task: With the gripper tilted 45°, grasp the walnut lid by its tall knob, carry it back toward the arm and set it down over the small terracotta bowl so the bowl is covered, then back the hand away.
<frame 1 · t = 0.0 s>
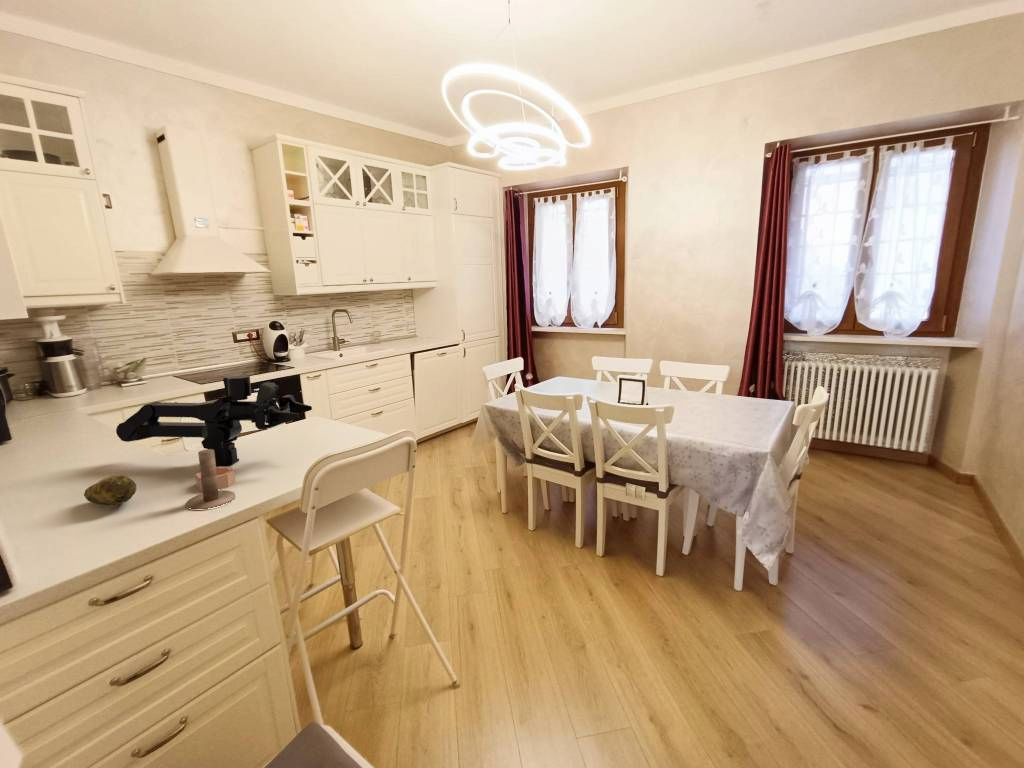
hand: (305, 411, 132), 17 cm above the table, tool horizontal, fingers open, 9 cm apart
potato: (113, 506, 106), on the table
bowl: (216, 484, 119), on the table
lid: (211, 501, 110), on the table
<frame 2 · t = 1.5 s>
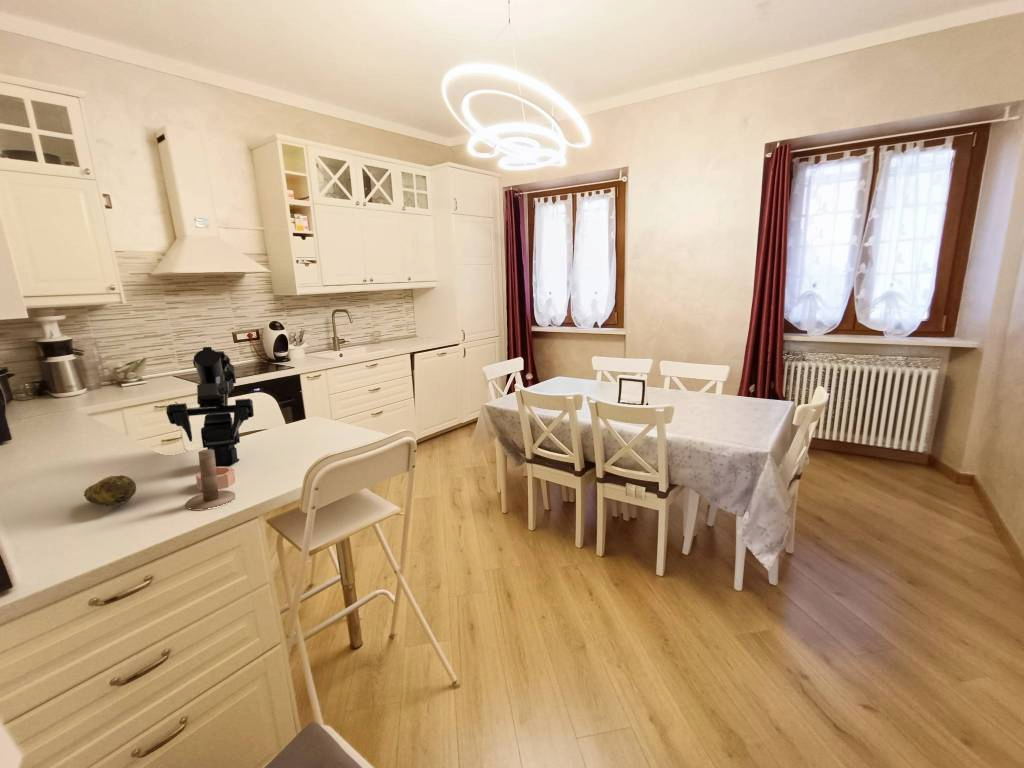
hand: (212, 438, 114), 14 cm above the table, tool tilted 45°, fingers open, 9 cm apart
nothing on the table moved.
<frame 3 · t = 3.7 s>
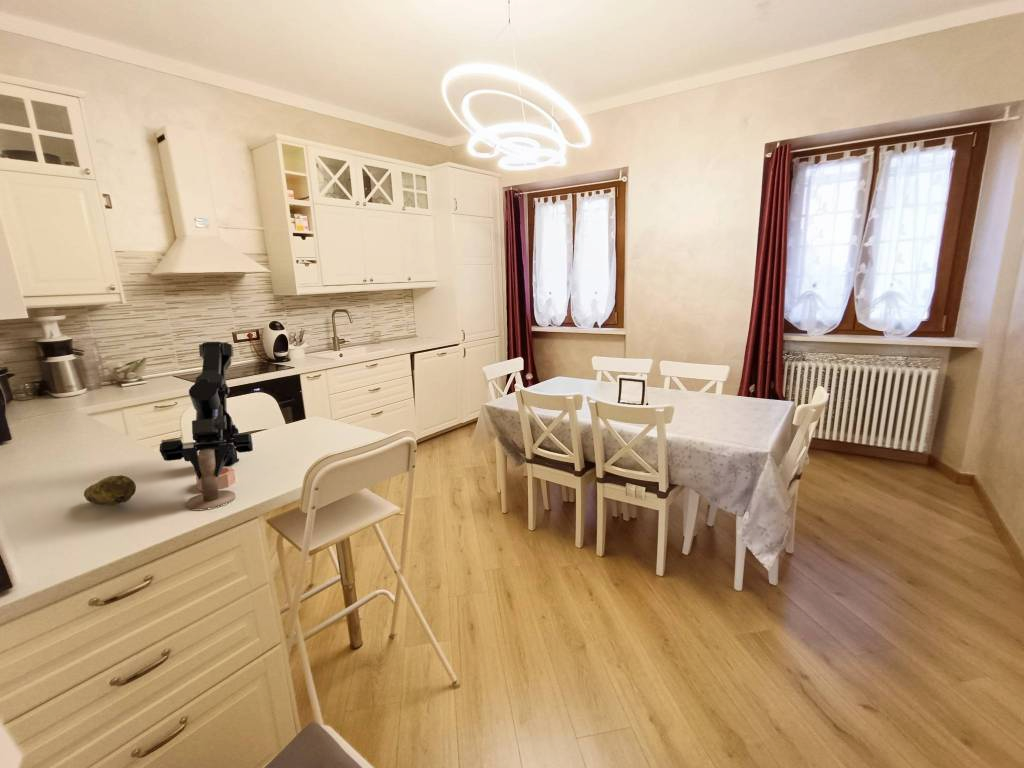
hand: (208, 477, 107), 7 cm above the table, tool tilted 45°, fingers closed on lid, 3 cm apart
lid: (211, 500, 110), on the table, touching gripper
everything else where it was.
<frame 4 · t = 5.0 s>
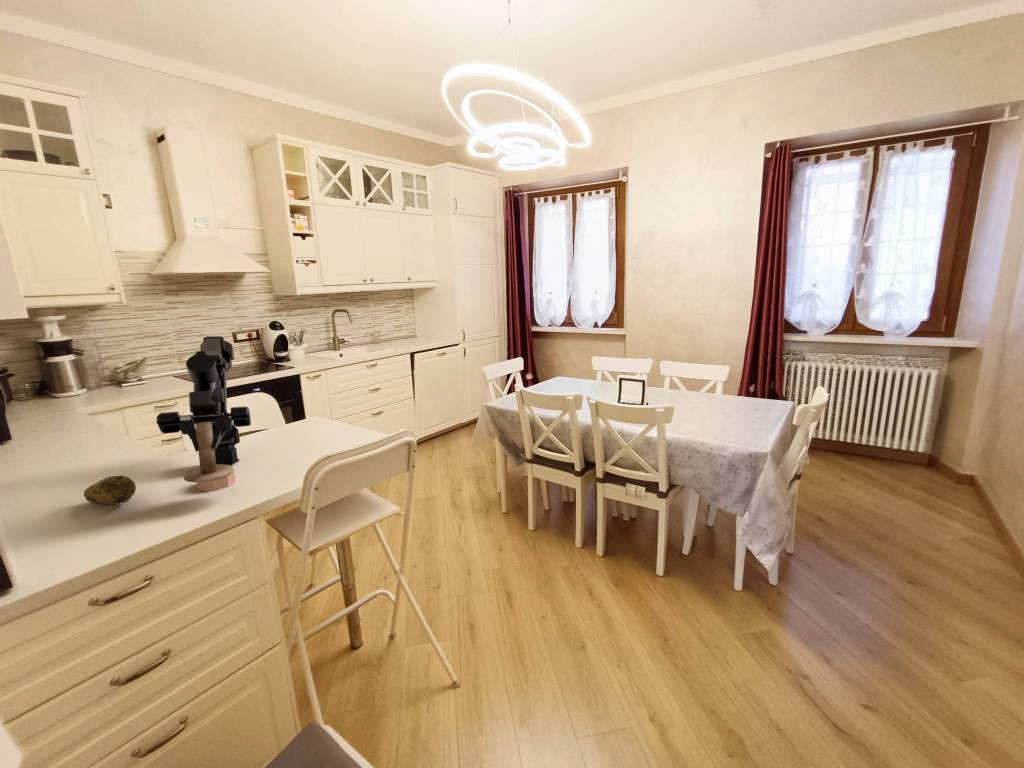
hand: (205, 449, 106), 13 cm above the table, tool tilted 45°, fingers closed on lid, 3 cm apart
lid: (209, 474, 109), point 7 cm above the table, touching gripper
everything else where it was.
when the fingers open (11 cm above the table, at t = 6.6 s): lid drops 1 cm, resting on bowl.
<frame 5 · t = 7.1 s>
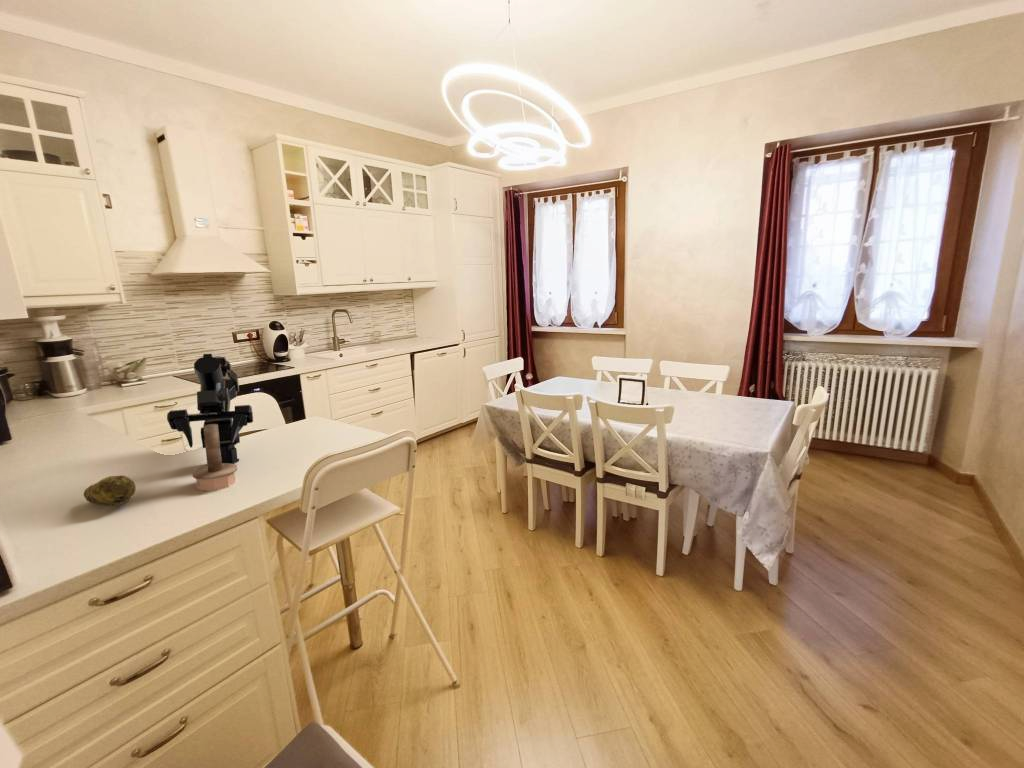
hand: (211, 444, 116), 12 cm above the table, tool tilted 45°, fingers open, 9 cm apart
lid: (215, 471, 119), point 3 cm above the table, touching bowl
everything else where it was.
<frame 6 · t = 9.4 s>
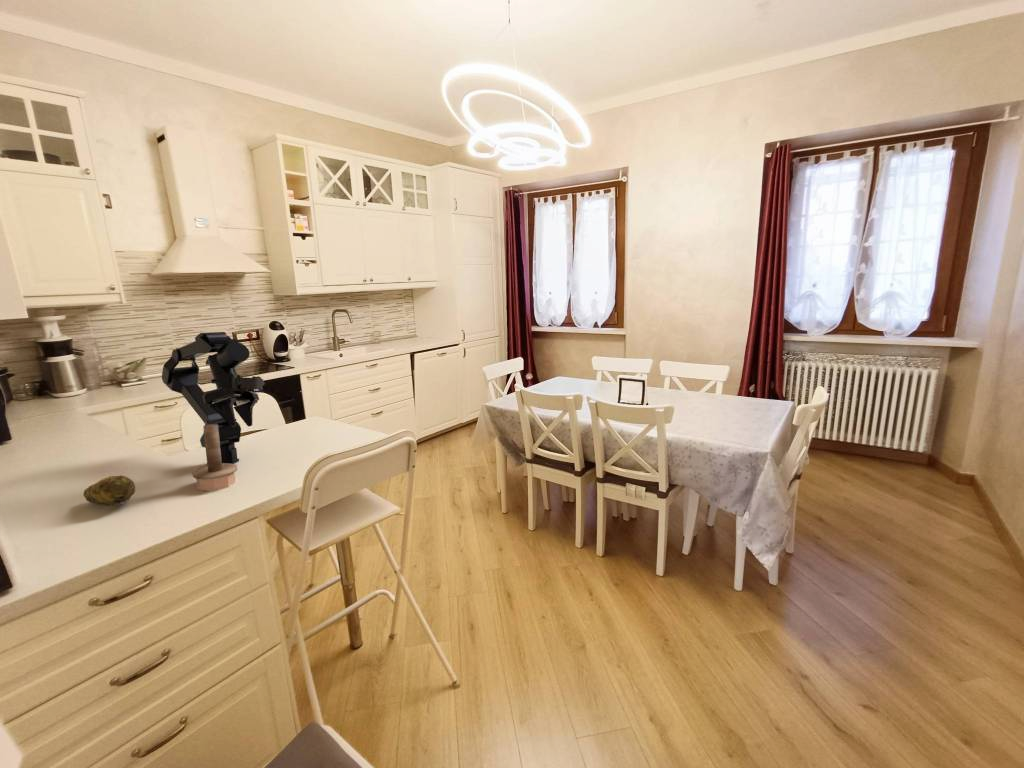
hand: (242, 426, 125), 14 cm above the table, tool tilted 25°, fingers open, 9 cm apart
nothing on the table moved.
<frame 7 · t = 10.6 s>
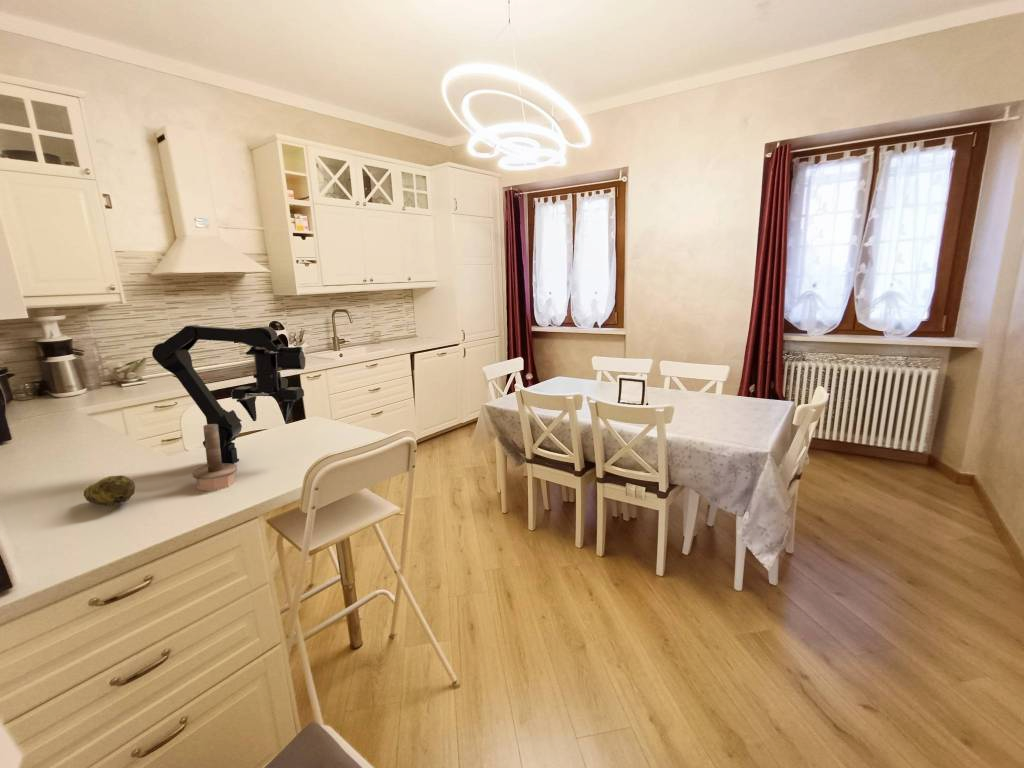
hand: (270, 421, 134), 13 cm above the table, tool pointing down, fingers open, 9 cm apart
nothing on the table moved.
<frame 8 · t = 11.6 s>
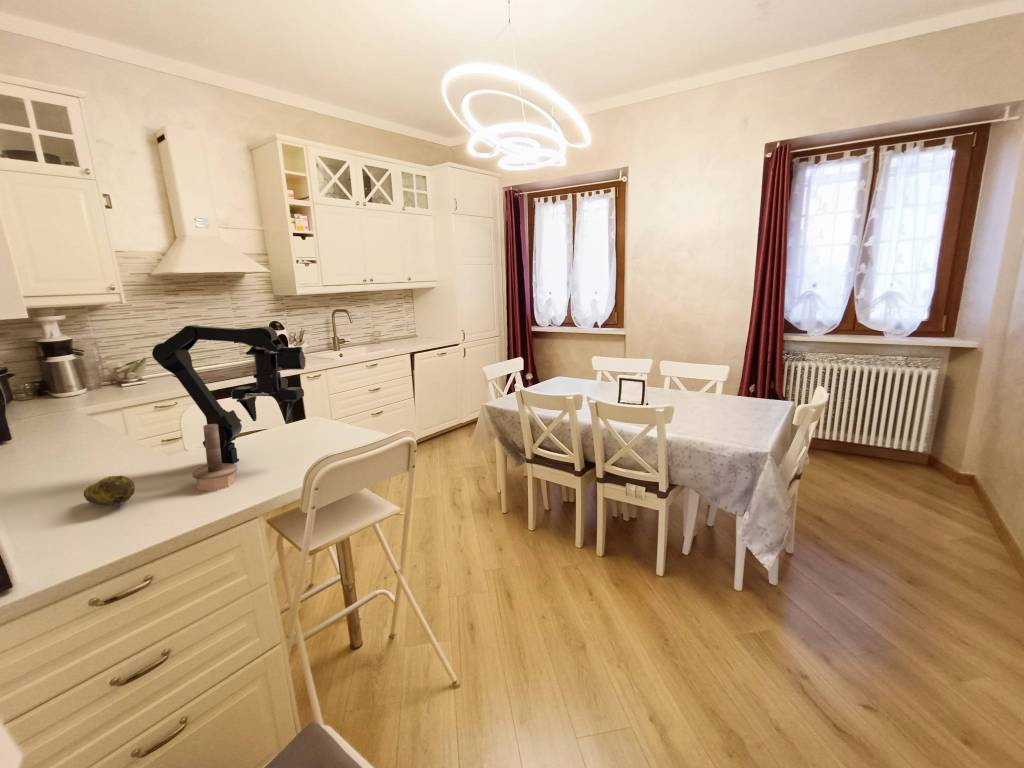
hand: (270, 421, 134), 13 cm above the table, tool pointing down, fingers open, 9 cm apart
nothing on the table moved.
at the end: lid 0.1 cm from the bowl (horizontally); lid point 3.5 cm above the table; lid tilted 0° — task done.
